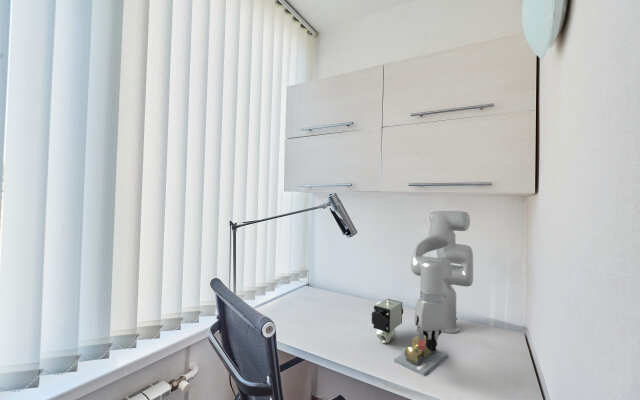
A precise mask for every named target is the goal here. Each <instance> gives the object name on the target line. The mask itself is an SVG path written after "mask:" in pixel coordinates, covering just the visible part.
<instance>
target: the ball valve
mask: <svg viewBox="0 0 640 400" xmlns="http://www.w3.org/2000/svg"><path fill="white" fill-rule="evenodd" d="M403 314H404V308H403V302H402V301H399V300H393V299H390V298H386V299H385V300H383V301H378V302H377V303H376V305H374V306H373V311H372V312H371V325H373V329H375V330H376V337H377V338H379V341H380V342H381V343H383V344H388V343H389V342H391V341H392V340H394V338H395V337H396V336H397V332H396V328H397V327H398V326H400V325H402V323H403Z"/></svg>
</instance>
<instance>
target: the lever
mask: <svg viewBox="0 0 640 400" xmlns="http://www.w3.org/2000/svg"><path fill="white" fill-rule="evenodd" d="M418 334H419V333H418ZM424 337H425V335H424V334H419V339H418V349H419V350H425V340H424Z"/></svg>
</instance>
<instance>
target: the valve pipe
mask: <svg viewBox="0 0 640 400" xmlns="http://www.w3.org/2000/svg"><path fill="white" fill-rule="evenodd" d="M418 339H419V335H417V336H415V337H413V338H412V339H411V346H408V347H406V348H405V349H404V352H403V353H405V357H406V361H408V362H410V363H412V364H415V365H417V366H419V365H420V364H422V357H424V358H425V357H426V356H427V355H429V354H432V355H434V354H435V353H436V351H430V350H429V349H428V348H427V347H426V336H425V335H424V340H425V350H419V349H418ZM437 347H438V339H437V340H436V348H437Z"/></svg>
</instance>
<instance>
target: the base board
mask: <svg viewBox="0 0 640 400" xmlns="http://www.w3.org/2000/svg"><path fill="white" fill-rule="evenodd" d="M447 358H448V353H446V352H444V351H443V350H442V351H441V350H438V349H436V353H435V354H434V355H432V354H429V355H427V356H426V357H425V358H424V357H422V364H420V365H419V366H417V365H415V364H412V363H410V362H408V361H406V357H405V353H404V352H402V353H401V354H399V355H398V356H396V357H395V358H393V362H394V363H396V364H398V365H401V366H402V367H405V368H407V369H409V370H411V371H413V372H415V373H417V374H419V375H422V376H423V377H424V376H426V375H427V374H428V373H430V372H431V371H432V370H433V369H434V368H436V367H437V366H438V365H439V364H440V363H442V362H443V361H444V360H445V359H447Z"/></svg>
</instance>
